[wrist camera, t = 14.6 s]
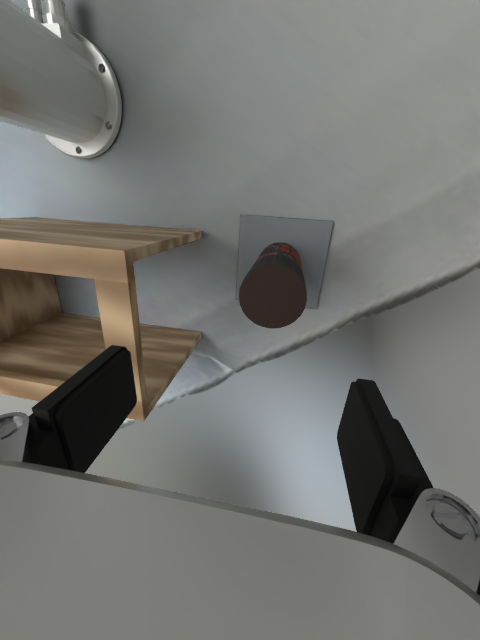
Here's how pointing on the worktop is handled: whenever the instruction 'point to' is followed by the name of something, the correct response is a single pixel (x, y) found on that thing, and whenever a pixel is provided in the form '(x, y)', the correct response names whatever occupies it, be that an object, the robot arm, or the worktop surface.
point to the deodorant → (274, 287)
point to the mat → (296, 232)
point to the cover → (74, 330)
